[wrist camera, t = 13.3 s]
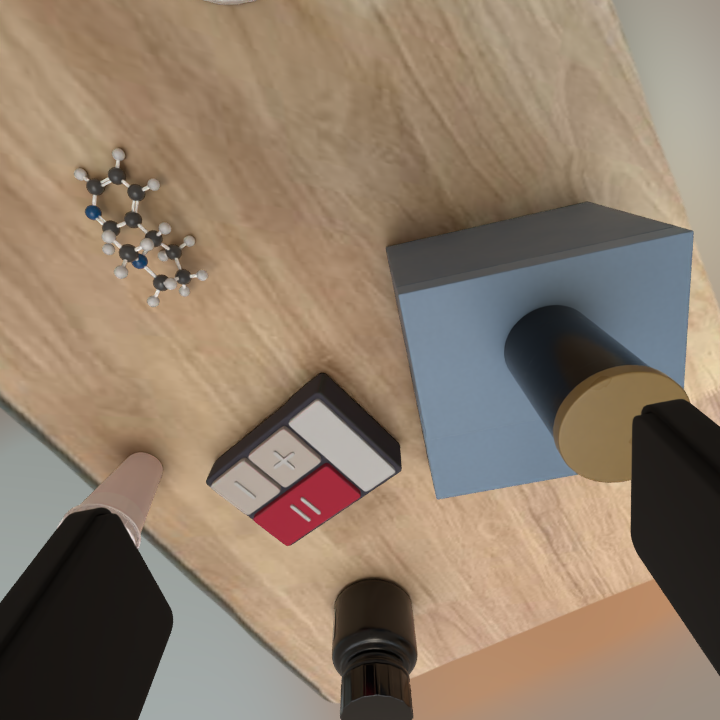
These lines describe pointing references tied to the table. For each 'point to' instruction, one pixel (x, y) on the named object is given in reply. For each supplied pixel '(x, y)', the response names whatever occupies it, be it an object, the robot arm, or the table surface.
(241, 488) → the calculator
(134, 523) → the smoothie
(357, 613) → the ink bottle
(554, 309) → the dark jar with lid
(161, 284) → the molecule model
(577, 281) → the blue-grey angular block
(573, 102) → the table surface
